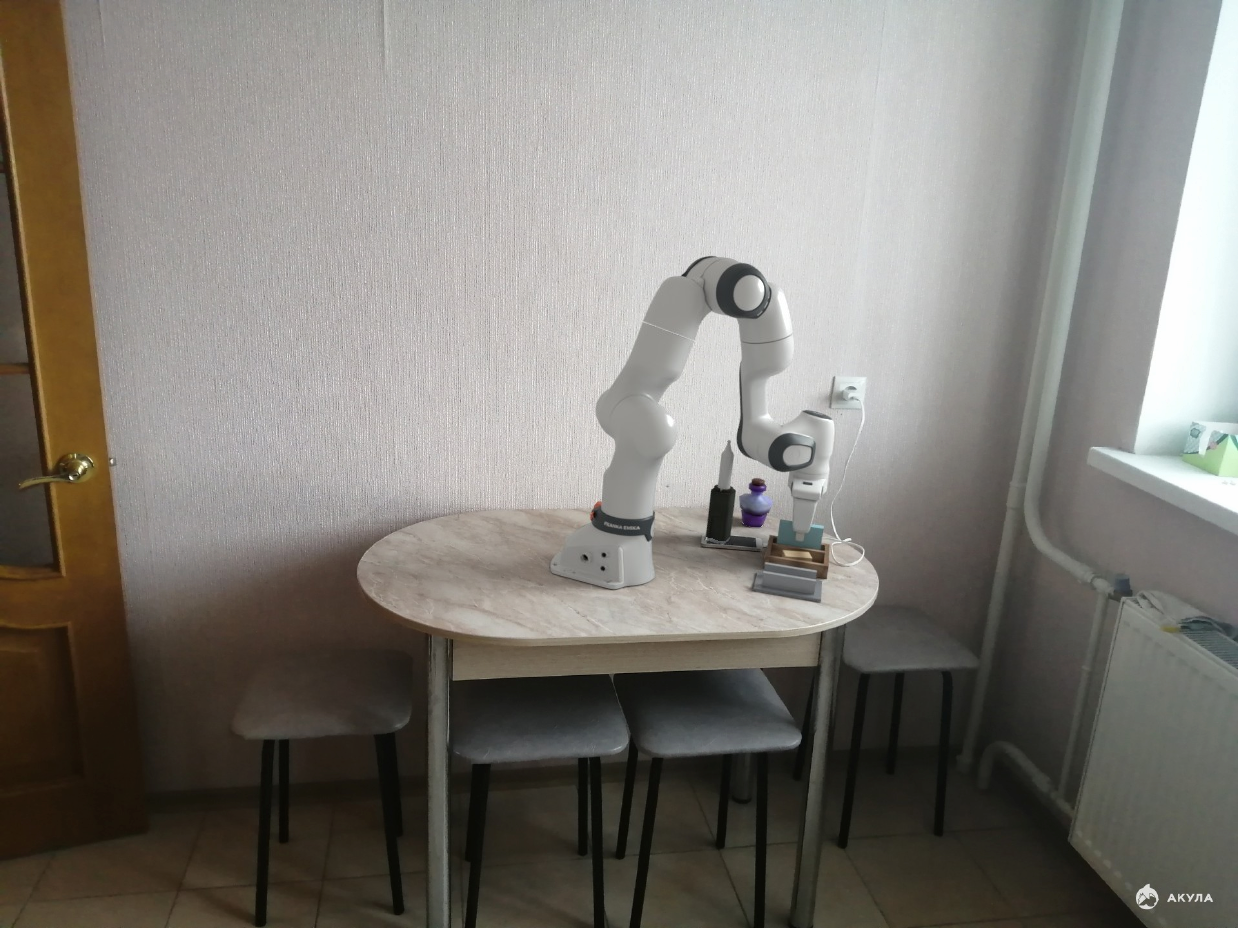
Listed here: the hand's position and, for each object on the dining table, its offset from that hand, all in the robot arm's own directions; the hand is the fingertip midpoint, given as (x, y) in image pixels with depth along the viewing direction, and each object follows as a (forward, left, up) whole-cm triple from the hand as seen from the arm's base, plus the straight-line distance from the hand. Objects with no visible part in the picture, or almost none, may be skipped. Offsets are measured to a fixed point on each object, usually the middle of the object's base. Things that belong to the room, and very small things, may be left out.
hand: (799, 537), depth 206 cm
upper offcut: (0, -7, -3) cm, 8 cm away
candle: (-19, +2, -5) cm, 20 cm away
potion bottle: (-12, +17, -5) cm, 21 cm away
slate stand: (-1, -19, -5) cm, 20 cm away
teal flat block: (0, 0, -5) cm, 5 cm away
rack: (0, -4, -5) cm, 6 cm away
